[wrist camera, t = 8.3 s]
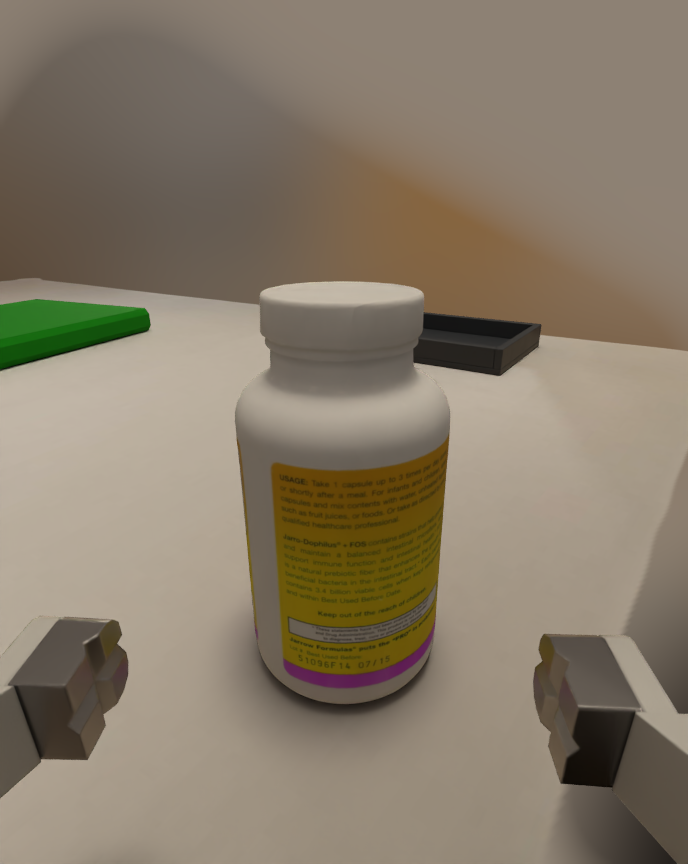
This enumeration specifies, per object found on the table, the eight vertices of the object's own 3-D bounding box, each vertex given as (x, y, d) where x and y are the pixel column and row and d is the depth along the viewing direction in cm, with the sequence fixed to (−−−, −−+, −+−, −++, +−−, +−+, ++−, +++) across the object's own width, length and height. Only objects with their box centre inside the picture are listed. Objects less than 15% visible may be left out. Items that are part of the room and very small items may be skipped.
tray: (538, 345, 62) (541, 324, 61) (500, 375, 51) (503, 349, 50) (394, 328, 72) (395, 309, 71) (336, 349, 61) (335, 327, 60)
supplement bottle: (471, 653, 19) (515, 293, 14) (318, 754, 15) (303, 322, 10) (361, 560, 24) (364, 272, 19) (227, 620, 20) (187, 287, 15)
